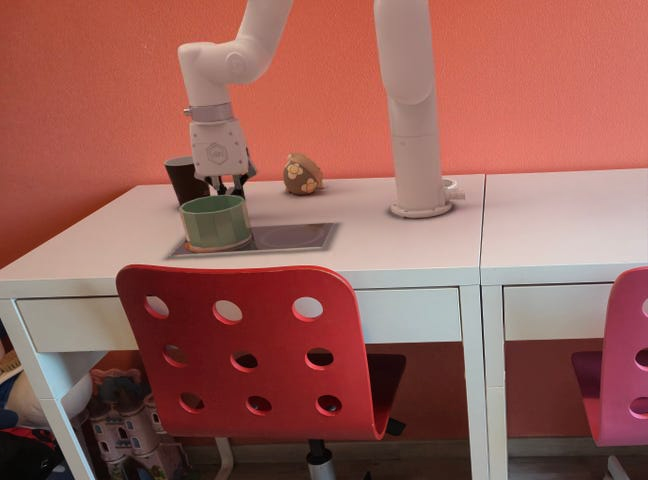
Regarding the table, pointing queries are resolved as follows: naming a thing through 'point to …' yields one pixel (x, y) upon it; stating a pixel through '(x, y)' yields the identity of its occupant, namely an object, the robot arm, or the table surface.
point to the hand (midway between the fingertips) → (233, 206)
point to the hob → (272, 239)
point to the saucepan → (216, 221)
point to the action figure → (301, 175)
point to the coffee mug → (186, 179)
